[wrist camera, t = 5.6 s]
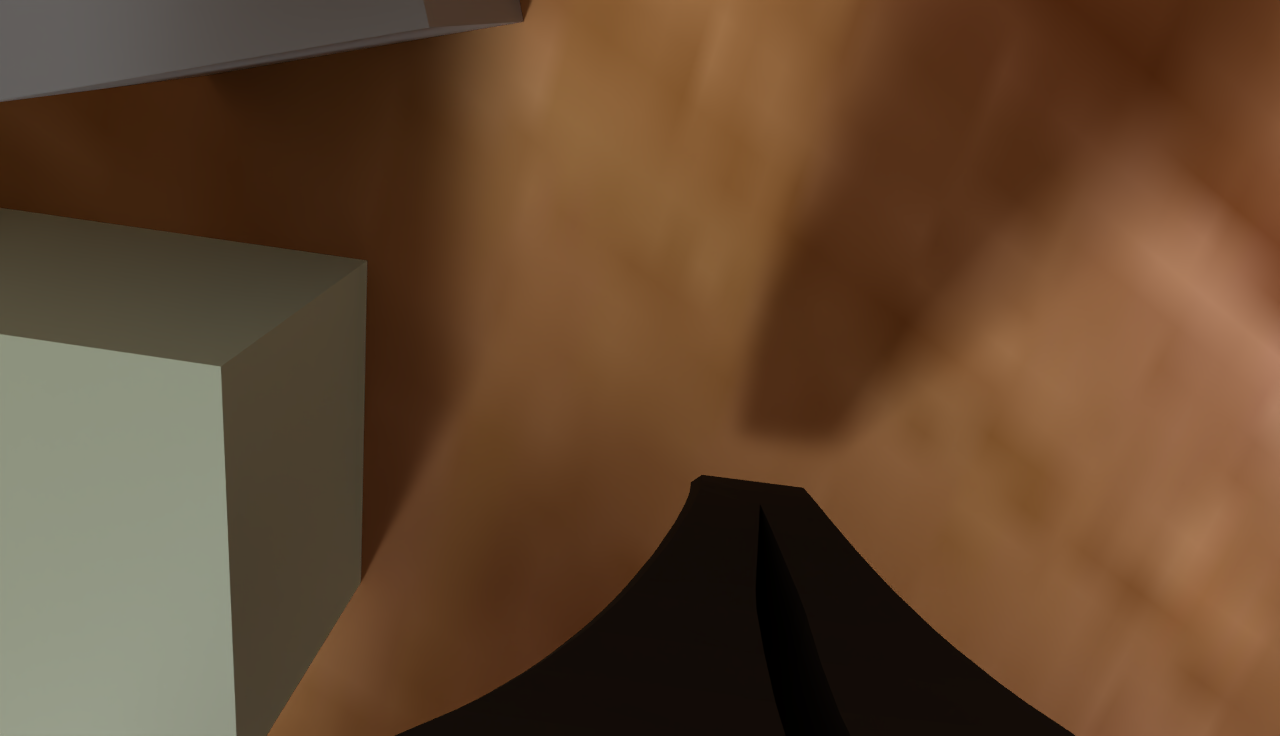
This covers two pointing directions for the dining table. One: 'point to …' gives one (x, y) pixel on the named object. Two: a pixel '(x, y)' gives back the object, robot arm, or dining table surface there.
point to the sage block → (172, 475)
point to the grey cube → (206, 36)
